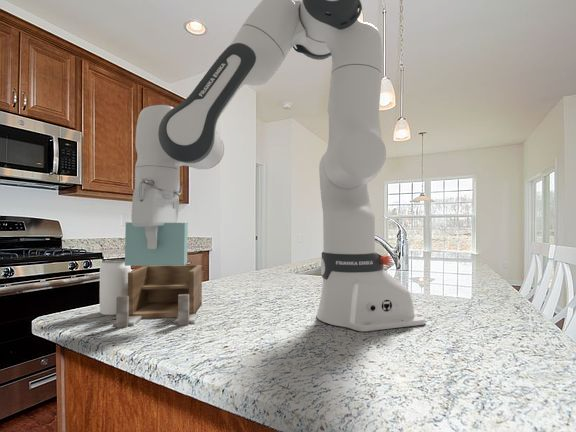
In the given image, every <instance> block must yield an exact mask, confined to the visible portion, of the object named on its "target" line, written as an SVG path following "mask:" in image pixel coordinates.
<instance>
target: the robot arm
mask: <svg viewBox="0 0 576 432" xmlns="http://www.w3.org/2000/svg"><path fill="white" fill-rule="evenodd" d="M362 11H363V5H362V3H361V0H261V1H260V3H258V5H257V6H256V7H255V8H253V10H252V12H251V13H250V14H249V16H247V18H245V19H246V20H245V21H244V23H243V24H242V25H241V27H240V29H239V30H238V32H237V33H236V35H235V36H234V38H233V40H232V41H231V43H230V44H229V45H228V46H227V47H226V48H225V49H224V51H223V52H222V53H221V54H220V55H219V56H218V58H216V60H215V61H214V63H213V64H212V65H211V66H210V68H209V69H208V70H207V72H206V73H205V74H204V76H203V78H201V80H200V81H199V82H198V84H197V85H196V87H194V89H193V91H191V93H190V94H189V95H188V96H187V98H185V99H184V100H183V101H182V102H180V103H179V104H177V105H176V106H174V107H173V106H170V105H167V104H151V105H148V106H146V107H144V108H143V109H141V110H140V113H139V115H138V118H137V121H136V131H135V145H134V146H135V151H136V153H137V158H136V162H135V166H134V171H135V172H134V191H133V193H132V202H131V203H132V204H131V215H130V216H131V217H130V219H131V222H132V224H133V226H135V227H145V234H146V238H147V247H148V249H156V248H158V246H159V245H158V243H159V240H158V239H157V232H158V226H164V224H165V223H178V218H179V207H180V196H179V195H182V193H183V192H182V184H181V182H180V181H181V179H180V171H181V170H180V169H181V168H180V167H182V166H184V167H188V168H193V169H197V170H209V169H211V168H214V167H216V166H217V165H219V163H220V162H221V160H222V158H223V157H224V154H225V145H224V142H223V140H222V138H221V136H220V134H219V133H218V131H217V123H218V120H219V118H220V117H221V115H222V114H223V113H224V111H225V110H226V109H227V107H228V105H229V104H230V103H231V102H232V99H234V97H235V96H236V94H237V93H238V91H239V90H240V89H241V88H242V87H244V86H245V85H250V86H262V85H265V84H266V83H268V82H269V80H271V79H272V78H273V76H275V74H276V73H277V71H278V70H279V69H280V67H281V65H283V62H284V61H285V59H286V57H287V56H288V54H289V52H290V51H291V49H292V48H293V49H294V51H295V52H297V53H300V54H303V55H304V56H306V57H307V58H310V59H312V60H317V61H320V60H323V61H324V60H327V58H330V57H331V63H332V64H331V71H330V81H329V92H328V93H329V94H328V103H327V113H328V142H327V143H328V144H327V148H326V151H324V153H323V154H322V157H321V158H320V160H319V165H318V166H319V167H318V172H319V174H318V175H319V187H320V188H319V189H320V198H321V208H322V222H323V223H322V224H323V225H322V229H323V231H322V233H323V235H322V236H323V243H322V244H323V248H322V249H323V251H322V252H321V258H320V275H321V277H322V284H321V293H320V299H319V305H318V308H317V309H318V310H317V312H316V318H317V319H318V320H319V321H320V322H323V323H326V324H329V325H333V326H336V327H337V326H338V327H342V328H348V329H351V330H354V331H358V332H373V331H379V330H386V329H387V330H388V329H397V328H404V327H405V328H407V327H414V326H422V325H425V324H426V317H425V315H424V314H423V313H422V312H420V311H419V310H417V309H415V308H414V303H413V299H412V294H411V293H410V291H409V289H408V288H407V287H406V286H405V285H404V284H403V283H401V282H400V281H398V280H397V279H395V278H394V277H393V276H392V275H391V274H390V273H388V272H387V271H386V270H384V265H385V266H391V264H392V263H393V258H392V257H391V256H390V255H387V254H386V255H385V254H384V255H381V254H380V253H378V252H376V233H375V232H376V229H375V228H376V227H375V226H376V225H375V224H376V221H375V219H376V218H375V214H374V211H373V209H372V205H371V202H370V197H369V195H370V194H369V191H368V183H369V182H371V181H373V180H375V178H376V177H377V176H378V174H379V173H380V171H381V170H382V168H383V166H384V165H385V162H386V158H387V149H386V146H385V142H384V141H383V139H382V130H381V129H382V128H381V123H380V122H381V121H380V103H381V101H380V100H381V90H382V88H381V87H382V77H383V44H382V38H381V33H380V31H379V29H378V28H377V27H375V25H373V24H372V23H368V22H363V21H361V20H360V16H361V13H362Z"/></svg>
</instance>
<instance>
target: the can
mask: <svg viewBox="0 0 576 432" xmlns="http://www.w3.org/2000/svg"><path fill="white" fill-rule="evenodd" d="M131 267H132V266H125V258H124V259H120V258H119V259H107V260H106V259H105V260H102V261H101V265H100V268H99V313H100V314H101V316H110V317H111V316H116V308H117V297H118V296H128V273H129V272H131V271H132V268H131Z"/></svg>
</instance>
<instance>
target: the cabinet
mask: <svg viewBox="0 0 576 432" xmlns="http://www.w3.org/2000/svg"><path fill="white" fill-rule="evenodd" d="M202 267H203V265H202V264H186V265H161V266H141V267H138V268H136V269H134V270H131V272H129V273H128V296H118V297H117V308H116V315H115V317H116V321H114V322H113V323H112V324H113V327H116V328H128V327H129V326H135V325H136V324H137V323H138V322H140V321H141V320H142V319H156V318H157V319H159V318H160V319H164V318H176V319H174V322H173V324H175V325H178V326H186V325H187V326H188V325H189V324H195V323H196V321H197V319H198V317H199V313H197V312H198V310H199V309H200V307H201V305H202V304H203V300H202V299H203V298H202V297H203V296H202V295H203V289H202V288H203V287H202V286H203V282H202V281H203V278H202V277H203V269H202ZM140 319H141V320H140ZM139 320H140V321H139ZM134 324H135V325H134ZM128 325H129V326H128ZM127 326H128V327H127Z"/></svg>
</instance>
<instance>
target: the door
mask: <svg viewBox="0 0 576 432" xmlns="http://www.w3.org/2000/svg"><path fill="white" fill-rule="evenodd" d="M188 230H189V229H188V222H177V223H165V224H164V226H158V232H157V239H158V240H159V243H158V245H159V246H158V248H156V249H148V247H147V238H146V234H145V227H135V226H133V224H132V221H131V222H129V221H126V222H125V234H124V235H125V240H124V242H125V244H124V246H125V247H124V259H125V266H131V267H133V266H137V267H138V266H141V267H144V266H166V265H188V233H189V232H188Z"/></svg>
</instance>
